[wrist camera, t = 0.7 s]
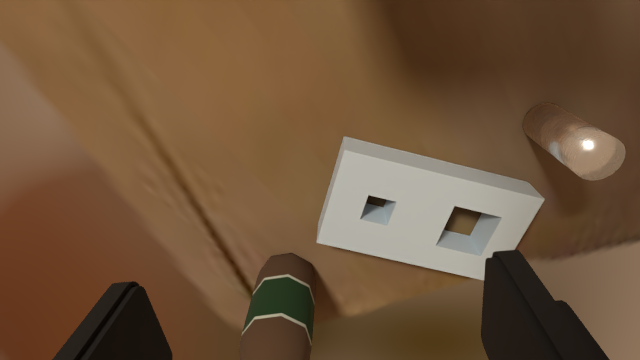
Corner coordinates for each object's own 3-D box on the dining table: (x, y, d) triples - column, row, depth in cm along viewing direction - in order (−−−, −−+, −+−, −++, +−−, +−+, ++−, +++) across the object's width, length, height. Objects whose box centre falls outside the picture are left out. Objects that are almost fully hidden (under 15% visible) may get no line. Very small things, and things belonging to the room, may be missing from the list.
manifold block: (343, 136, 42) (344, 149, 39) (528, 181, 44) (544, 199, 40) (318, 223, 48) (316, 242, 44) (483, 261, 49) (494, 282, 46)
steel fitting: (534, 98, 40) (590, 131, 31) (569, 108, 40) (635, 143, 31) (516, 133, 42) (564, 174, 33) (550, 142, 42) (607, 185, 33)
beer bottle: (328, 280, 52) (321, 486, 31) (282, 303, 54) (247, 510, 33) (294, 241, 49) (260, 437, 28) (247, 267, 52) (184, 466, 30)
